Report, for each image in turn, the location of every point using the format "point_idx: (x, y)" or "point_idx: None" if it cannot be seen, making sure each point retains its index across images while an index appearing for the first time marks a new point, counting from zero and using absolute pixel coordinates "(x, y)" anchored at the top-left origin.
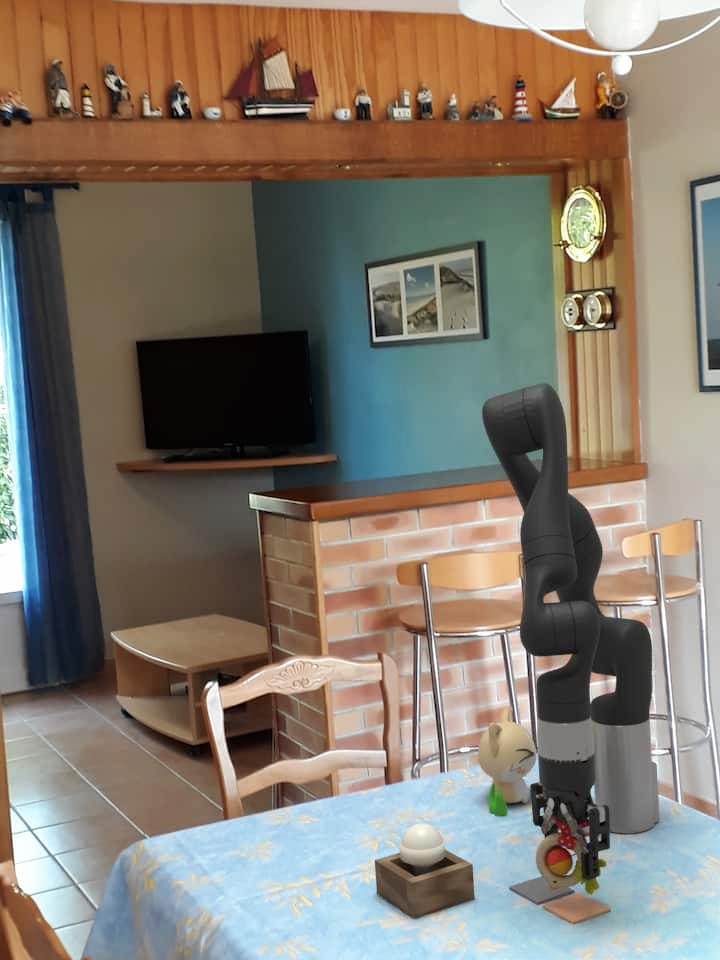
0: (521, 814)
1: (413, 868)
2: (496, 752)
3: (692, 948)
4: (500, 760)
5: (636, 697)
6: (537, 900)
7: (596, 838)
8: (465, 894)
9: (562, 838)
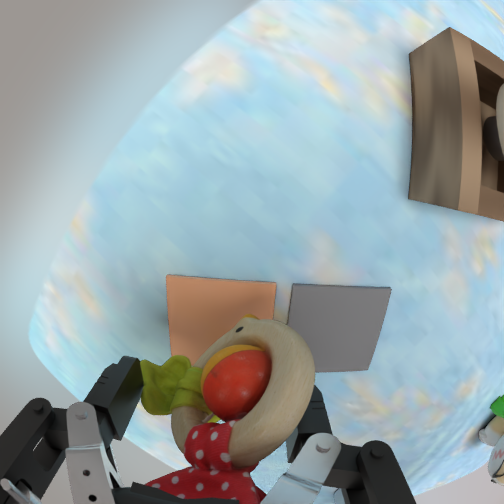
0: (477, 420)
1: None
2: None
3: (33, 336)
4: None
5: None
6: (300, 292)
7: (9, 428)
8: (419, 176)
9: (211, 445)
